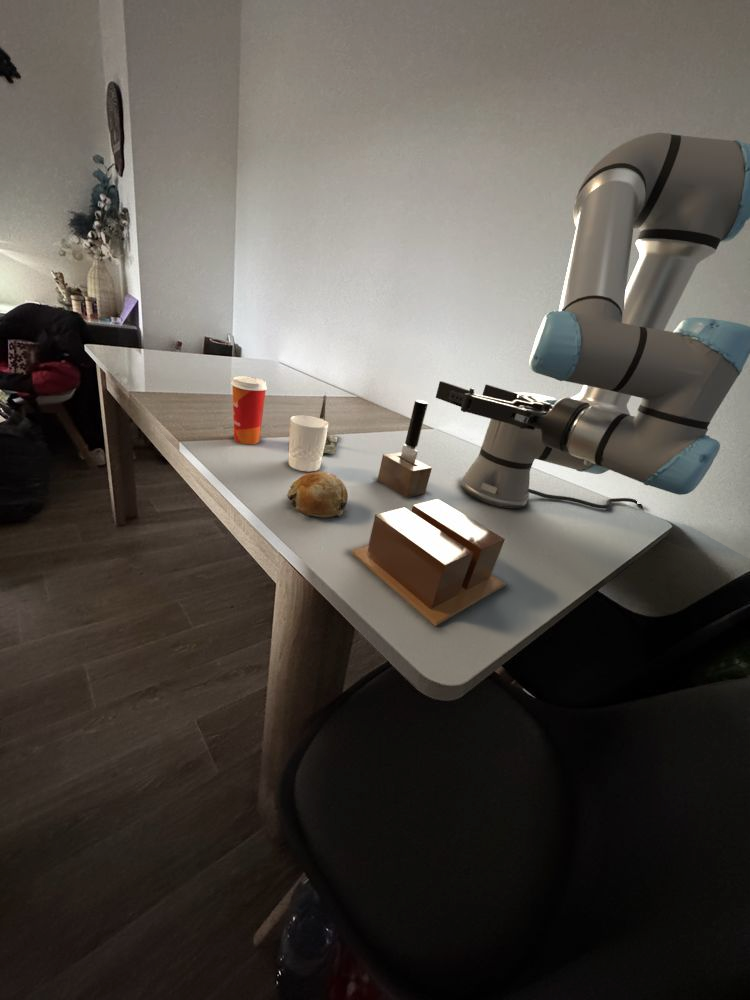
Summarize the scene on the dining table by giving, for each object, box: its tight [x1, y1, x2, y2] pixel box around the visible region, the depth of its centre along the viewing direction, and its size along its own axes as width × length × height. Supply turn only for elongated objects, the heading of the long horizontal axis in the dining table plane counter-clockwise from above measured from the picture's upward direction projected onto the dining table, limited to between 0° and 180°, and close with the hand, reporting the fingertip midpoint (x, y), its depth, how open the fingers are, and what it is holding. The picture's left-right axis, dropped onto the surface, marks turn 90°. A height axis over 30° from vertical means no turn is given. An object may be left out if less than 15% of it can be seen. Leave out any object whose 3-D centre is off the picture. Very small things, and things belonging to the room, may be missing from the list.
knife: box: [400, 399, 429, 466], centre depth 81 cm, size 4×3×19 cm, turn 41°
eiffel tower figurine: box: [319, 391, 338, 455], centre depth 96 cm, size 15×10×13 cm
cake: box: [351, 498, 506, 627], centre depth 57 cm, size 17×16×8 cm
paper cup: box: [230, 375, 268, 445], centre depth 89 cm, size 8×8×14 cm
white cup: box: [288, 414, 330, 473], centre depth 83 cm, size 8×8×10 cm
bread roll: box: [286, 471, 349, 519], centre depth 69 cm, size 10×10×8 cm
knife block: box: [377, 451, 433, 499], centre depth 84 cm, size 9×6×6 cm, turn 41°
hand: (462, 390), depth 69 cm, fingers open, 13 cm apart
